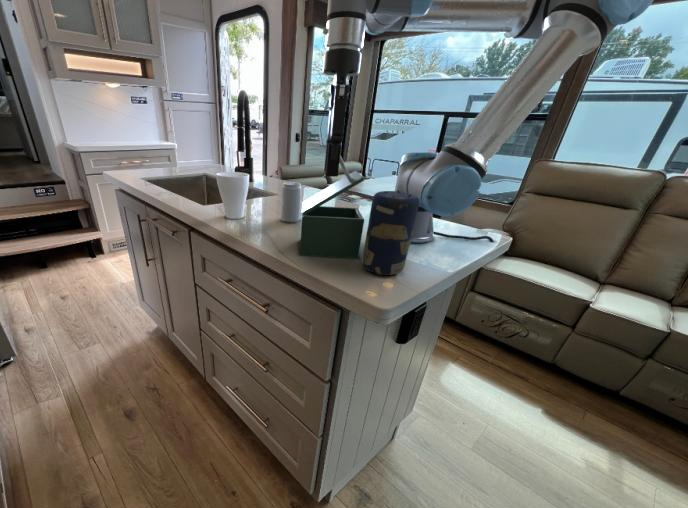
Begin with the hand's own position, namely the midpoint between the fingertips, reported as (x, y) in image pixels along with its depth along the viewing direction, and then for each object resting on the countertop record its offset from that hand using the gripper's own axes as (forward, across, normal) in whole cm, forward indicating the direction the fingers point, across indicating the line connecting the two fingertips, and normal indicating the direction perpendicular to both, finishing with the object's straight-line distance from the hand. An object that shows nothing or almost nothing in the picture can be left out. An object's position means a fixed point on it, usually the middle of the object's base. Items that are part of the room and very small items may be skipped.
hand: (330, 173), depth 74 cm
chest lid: (+5, 0, +1) cm, 5 cm away
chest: (+19, 0, +1) cm, 19 cm away
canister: (+19, +12, +13) cm, 26 cm away
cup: (+19, -26, -29) cm, 43 cm away
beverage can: (+19, -25, -10) cm, 33 cm away
